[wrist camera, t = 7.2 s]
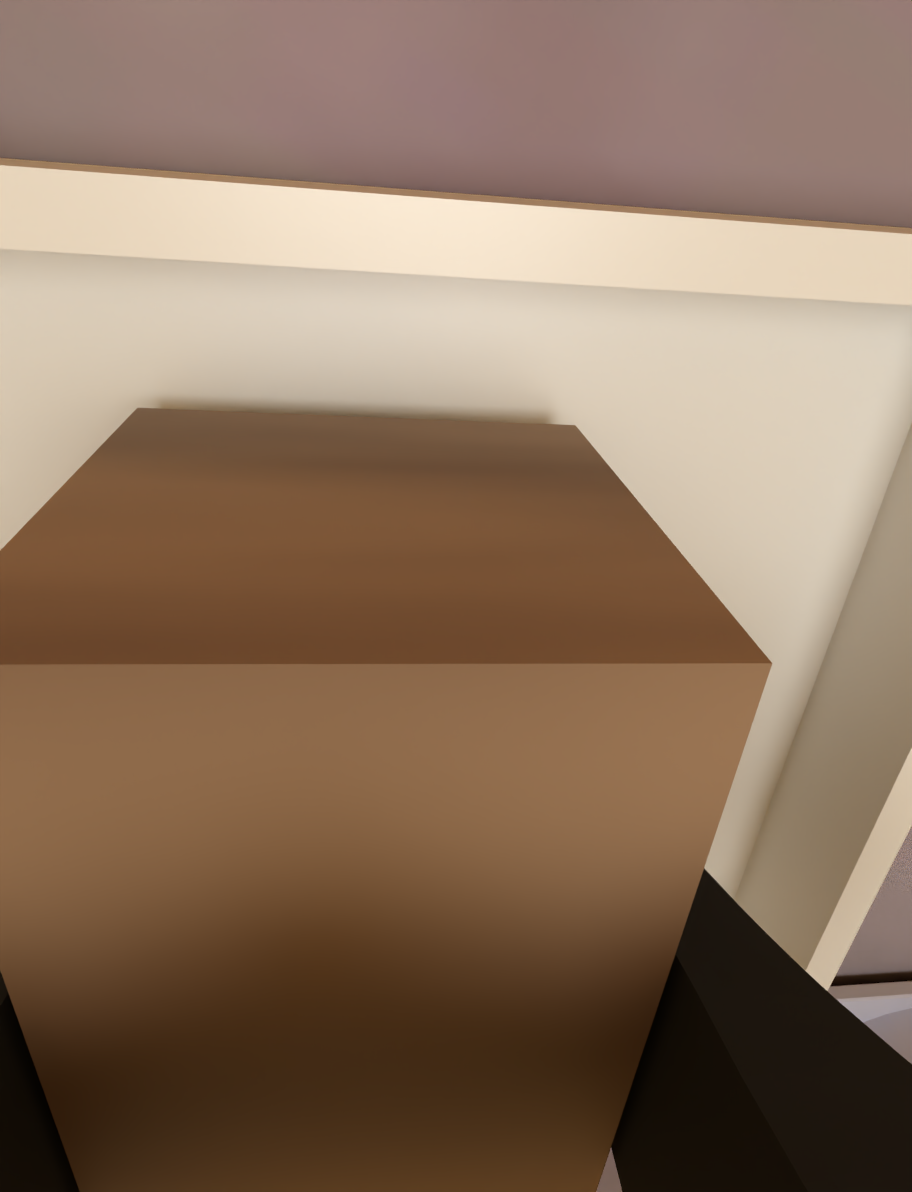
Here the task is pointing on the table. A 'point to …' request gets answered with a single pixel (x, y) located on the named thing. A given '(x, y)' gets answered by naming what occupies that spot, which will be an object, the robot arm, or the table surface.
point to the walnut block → (352, 800)
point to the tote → (545, 422)
